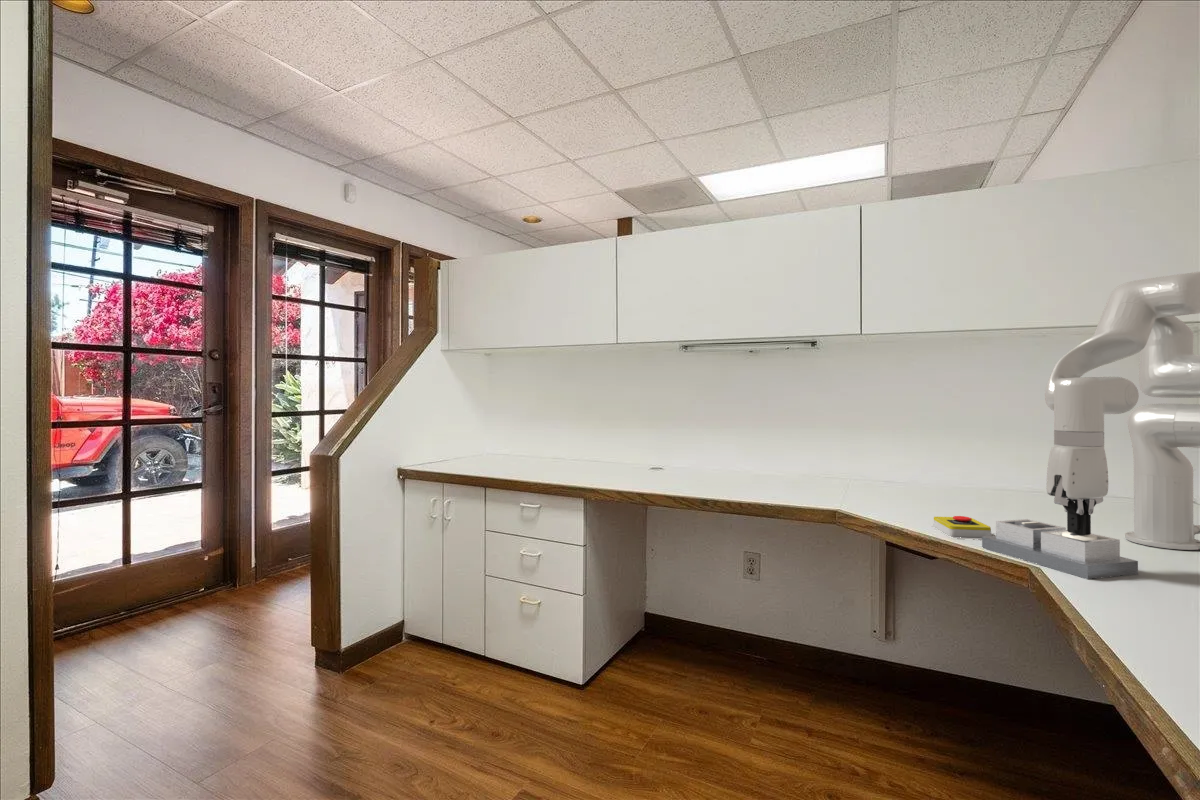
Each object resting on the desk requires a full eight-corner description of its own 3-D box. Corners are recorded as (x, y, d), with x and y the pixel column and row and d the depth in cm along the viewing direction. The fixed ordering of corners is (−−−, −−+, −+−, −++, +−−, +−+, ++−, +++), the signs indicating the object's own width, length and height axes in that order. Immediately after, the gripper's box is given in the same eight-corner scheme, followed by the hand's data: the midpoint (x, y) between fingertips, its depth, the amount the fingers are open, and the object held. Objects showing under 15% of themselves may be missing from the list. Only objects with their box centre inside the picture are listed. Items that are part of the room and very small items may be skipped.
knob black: (1028, 547, 122) (1028, 519, 122) (1052, 553, 117) (1051, 524, 117) (1008, 549, 121) (1008, 520, 121) (1032, 555, 116) (1031, 525, 116)
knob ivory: (1075, 560, 113) (1075, 529, 113) (1104, 568, 108) (1103, 535, 108) (1055, 562, 112) (1055, 531, 112) (1082, 570, 106) (1082, 537, 106)
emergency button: (952, 522, 132) (928, 510, 146) (952, 541, 132) (928, 526, 146) (996, 524, 130) (967, 511, 145) (996, 542, 130) (968, 527, 145)
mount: (1025, 544, 126) (1025, 517, 126) (1138, 574, 105) (1137, 541, 105) (982, 547, 124) (981, 520, 124) (1087, 579, 102) (1087, 545, 102)
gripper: (1088, 438, 115) (1088, 527, 115) (1029, 439, 111) (1029, 531, 112) (1129, 440, 107) (1130, 535, 107) (1068, 442, 104) (1068, 540, 104)
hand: (1078, 533), depth 109 cm, fingers closed
